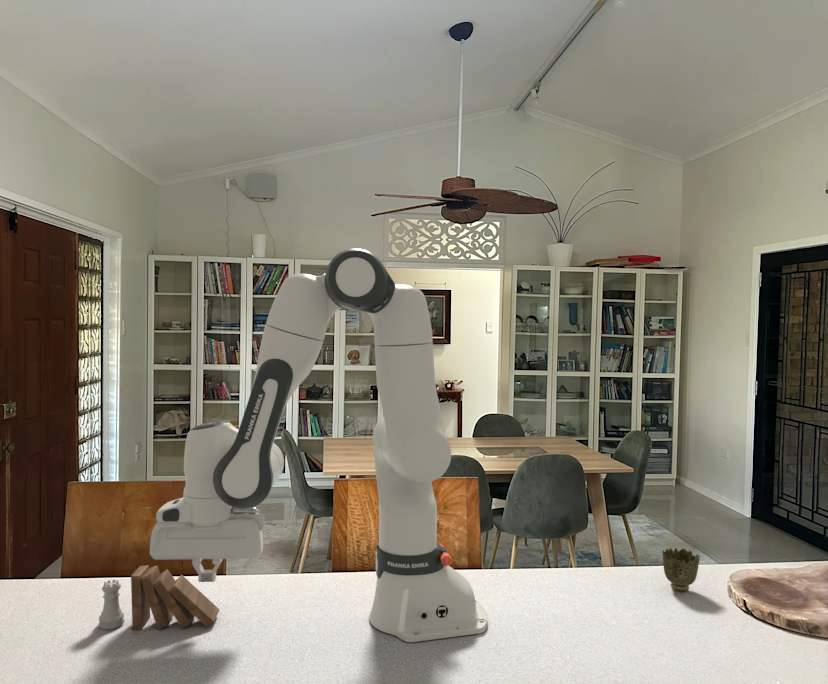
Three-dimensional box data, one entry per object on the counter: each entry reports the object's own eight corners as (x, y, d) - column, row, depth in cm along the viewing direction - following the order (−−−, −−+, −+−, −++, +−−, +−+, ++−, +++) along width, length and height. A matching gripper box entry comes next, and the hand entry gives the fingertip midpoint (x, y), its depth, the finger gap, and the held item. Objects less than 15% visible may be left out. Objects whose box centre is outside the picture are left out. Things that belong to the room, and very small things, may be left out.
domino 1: (150, 617, 122) (148, 565, 122) (141, 629, 117) (140, 575, 117) (141, 617, 122) (140, 565, 122) (132, 630, 117) (130, 576, 117)
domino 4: (219, 609, 124) (181, 574, 123) (214, 621, 119) (174, 585, 118) (213, 615, 123) (175, 580, 123) (207, 627, 119) (167, 591, 118)
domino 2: (174, 614, 123) (157, 565, 122) (166, 626, 118) (148, 575, 117) (165, 617, 123) (149, 568, 122) (157, 629, 118) (140, 578, 117)
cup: (654, 585, 141) (654, 549, 141) (681, 581, 143) (682, 546, 143) (677, 599, 134) (678, 561, 134) (706, 595, 136) (707, 557, 136)
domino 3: (196, 611, 123) (167, 569, 122) (190, 623, 118) (159, 579, 117) (189, 616, 123) (160, 573, 122) (182, 628, 118) (152, 584, 117)
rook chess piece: (129, 620, 121) (129, 578, 121) (114, 631, 117) (114, 588, 116) (108, 618, 122) (108, 576, 122) (92, 629, 117) (92, 586, 117)
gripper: (266, 502, 124) (265, 573, 125) (157, 503, 123) (157, 575, 123) (262, 512, 118) (261, 586, 118) (147, 513, 116) (146, 588, 117)
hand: (207, 580), depth 121 cm, fingers closed
